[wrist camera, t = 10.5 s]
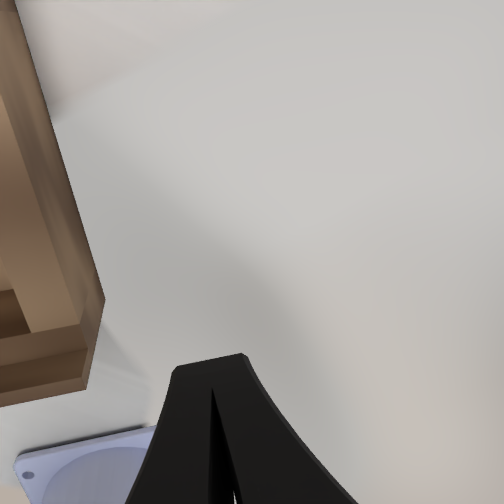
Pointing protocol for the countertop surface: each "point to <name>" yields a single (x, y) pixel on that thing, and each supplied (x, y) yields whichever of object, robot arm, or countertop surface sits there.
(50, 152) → the walnut box
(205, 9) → the countertop surface
